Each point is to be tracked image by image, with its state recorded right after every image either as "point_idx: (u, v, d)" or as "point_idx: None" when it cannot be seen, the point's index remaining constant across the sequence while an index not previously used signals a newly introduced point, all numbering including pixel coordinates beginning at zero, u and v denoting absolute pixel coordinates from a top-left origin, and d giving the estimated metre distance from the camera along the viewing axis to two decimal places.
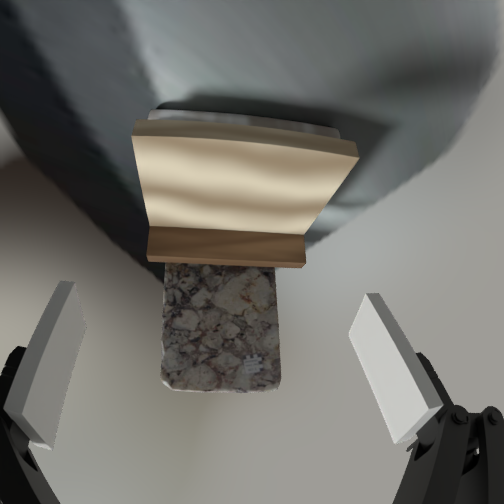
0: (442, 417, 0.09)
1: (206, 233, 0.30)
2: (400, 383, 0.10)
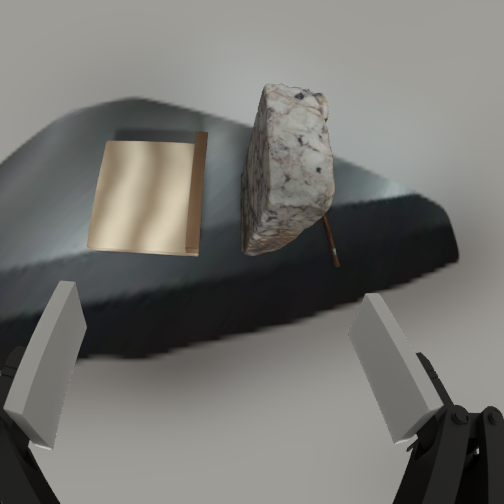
0: (442, 417, 0.09)
1: None
2: (400, 383, 0.10)
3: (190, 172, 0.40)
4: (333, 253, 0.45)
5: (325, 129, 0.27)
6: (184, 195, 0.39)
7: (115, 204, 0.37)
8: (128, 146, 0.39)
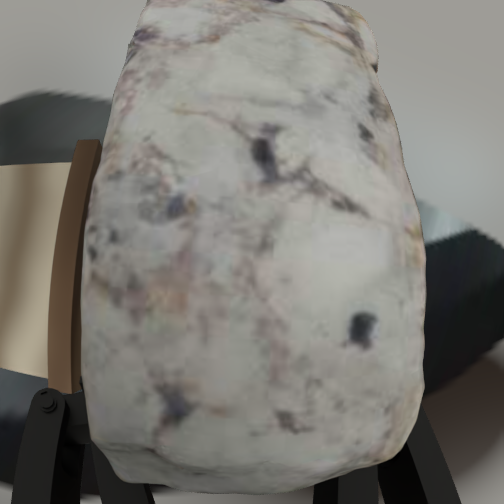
0: None
1: None
2: None
3: None
4: None
5: (382, 103, 0.06)
6: None
7: None
8: None
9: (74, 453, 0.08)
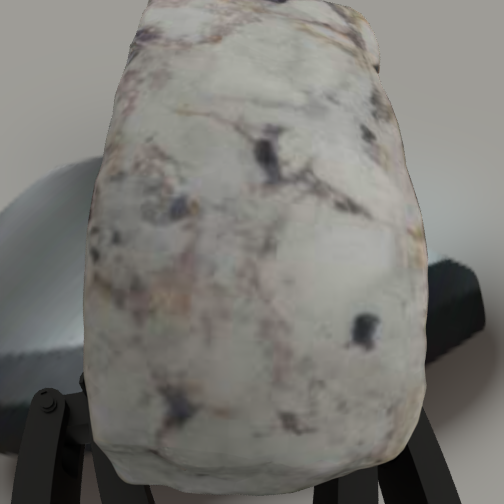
0: None
1: None
2: None
3: None
4: None
5: (384, 104, 0.06)
6: None
7: None
8: None
9: (74, 453, 0.08)
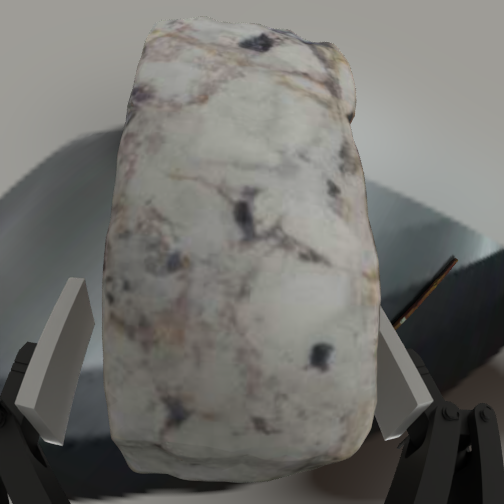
0: (432, 414, 0.09)
1: None
2: (390, 378, 0.11)
3: None
4: (400, 320, 0.32)
5: (352, 156, 0.07)
6: None
7: None
8: None
9: None
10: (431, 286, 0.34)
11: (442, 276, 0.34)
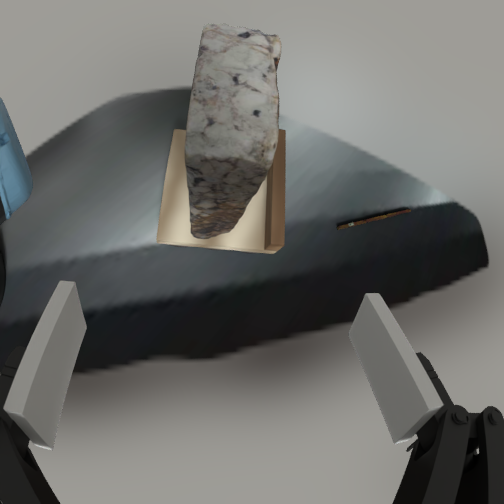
0: (442, 417, 0.09)
1: (267, 205, 0.38)
2: (400, 383, 0.10)
3: None
4: (349, 224, 0.45)
5: (272, 68, 0.19)
6: (260, 191, 0.39)
7: (188, 196, 0.37)
8: None
9: None
10: (382, 215, 0.47)
11: (393, 213, 0.47)
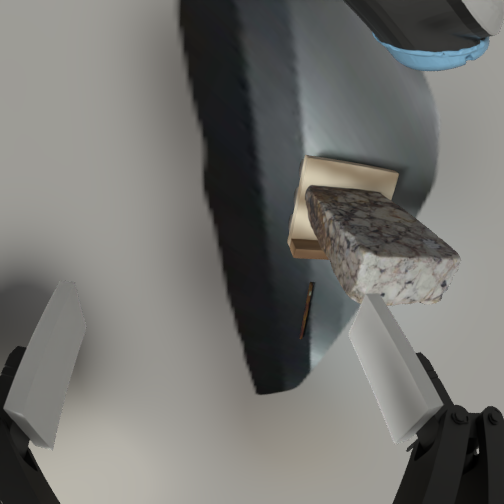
0: (442, 417, 0.09)
1: None
2: (400, 383, 0.10)
3: None
4: None
5: (412, 302, 0.30)
6: None
7: (340, 183, 0.44)
8: (388, 192, 0.45)
9: None
10: None
11: (304, 325, 0.63)
